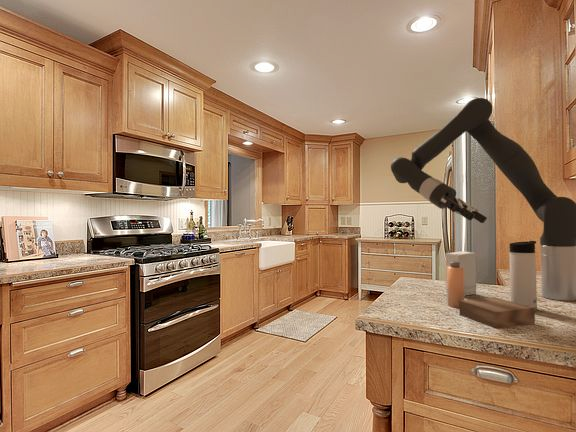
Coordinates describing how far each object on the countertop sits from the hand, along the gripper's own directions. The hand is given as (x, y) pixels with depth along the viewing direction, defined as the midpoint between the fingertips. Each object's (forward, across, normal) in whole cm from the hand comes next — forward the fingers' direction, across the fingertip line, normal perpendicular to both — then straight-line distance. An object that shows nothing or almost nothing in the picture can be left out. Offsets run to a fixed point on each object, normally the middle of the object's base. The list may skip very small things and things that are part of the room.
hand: (479, 219), depth 98 cm
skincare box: (+5, +16, +27) cm, 32 cm away
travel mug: (+22, +11, +16) cm, 29 cm away
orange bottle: (+11, 0, +25) cm, 28 cm away
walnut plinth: (+21, -6, +19) cm, 29 cm away
